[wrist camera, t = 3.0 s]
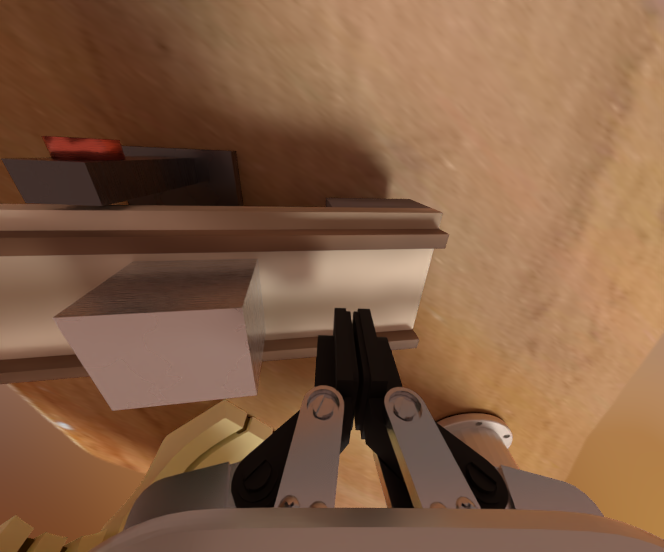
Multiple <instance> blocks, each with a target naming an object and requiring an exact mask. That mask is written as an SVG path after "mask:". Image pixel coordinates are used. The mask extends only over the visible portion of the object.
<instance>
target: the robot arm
mask: <svg viewBox="0 0 664 552" xmlns="http://www.w3.org/2000/svg"><path fill="white" fill-rule="evenodd" d="M354 418H355V428H356V430H360V431H361V439H365V441H366V444H367V445H368V446H369V447H370V448H371V449H372V450H373V456H374V461H375V464H376V468H377V472H378V475H379V479H380V483H381V486H382V490H383V494H384V497H385V501H386V505H387V508H334V506H335V495H336V485H337V475H338V465H339V455H340V453H341V452H342V451H343V450H344V449H345V447H346V446H347V445H348V444H349V439H350V432H351V430H352V427H353V420H354ZM512 438H513V437H512V432H511V431H510V429H509V428H508V426H507V424H506V423H505V422H504V421H503V420H501V419H500V418H498V417H495V416H492V415H488V414H483V413H467V414H460V415H455V416H451V417H448V418H445V419H443V420H440V421H438V422H436V421H434V419H433V418H432V416H431V414H430V412H429V410H428V408H427V406H426V404H425V403H424V401H423V400H422V398H421V397H420V396H419V395H418V394H417V393H415V392H414V391H412V390H410V389H408V388H404V387H402V384H401V380H400V377H399V374H398V371H397V368H396V364H395V361H394V358H393V355H392V351H391V348H390V345H389V342H388V339H387V337H377V335H376V331H375V327H374V323H373V319H372V315H371V311H370V309H360V308H358V310H357V311H354V312H353V320H351V312H350V311H346V308H335V309H334V325H333V336H332V335H318V342H317V357H316V373H315V387H314V388H312V389H311V390H309V391H308V392H307V394H306V395H305V397H304V399H303V402H302V405H301V409H300V410H299V411H298V412H297V413H296V414H295V415H293V416H292V417H291V418H290V419H289V420H288V421H287V422H285V423H284V424H283V425H282V426H281V427H280V428H278V429H277V430H276V431H275V432H274V433H273V434H271V435H270V436H269V437H268V438H267V439H266V440H264V441H263V442H262V443H261V444H260V445H259V446H257V447H256V448H255V449H254V450H253V451H252V452H250V453H249V454H248V455H247V456H246V457H245V458H244V459H243V460H242V461H241V462H237V463H233V464H230V463H229V462H225V463H221V464H217V465H213V466H209V467H205V468H201V469H197V470H193V471H189V472H185V473H181V474H177V475H173V476H169V477H165V478H163V479H160V480H158V481H156V482H154V483H153V484H151V485H150V486H149V487H147V488H146V489H145V490H144V491H143V492H142V493H141V495H140V496H139V497H138V498H137V499H136V501H135V503H134V505H133V507H132V509H131V511H130V513H129V515H128V518H127V521H126V524H125V526H124V529H123V531H122V532H120V533H118V534H116V535H114V536H112V537H110V538H108V539H107V540H105V541H103V542H102V543H100V544H99V545H97V546H95V547H94V548H92V549H91V550H89V551H88V552H664V540H663V539H661V538H659V537H657V536H655V535H653V534H651V533H648V532H646V531H644V530H642V529H639V528H637V527H634V526H631V525H629V524H626V523H624V522H621V521H617V520H614V519H610V518H607V517H604V516H603V514H602V513H601V511H600V510H599V509H598V507H597V506H596V504H595V503H594V502H593V501H592V500H591V499H590V498H589V497H588V496H587V495H586V494H585V493H583V492H582V491H580V490H579V489H578V488H576V487H575V486H573V485H571V484H568V483H566V482H563V481H560V480H556V479H552V478H548V477H545V476H541V475H537V474H533V473H530V472H526V471H522V470H520V469H519V467H518V466H517V464H516V462H515V461H514V459H513V457H512V456H511V454H510V452H509V451H508V448H509V446H510V445H511V443H512Z"/></svg>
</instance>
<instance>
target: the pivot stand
mask: <svg viewBox="0 0 664 552" xmlns="http://www.w3.org/2000/svg"><path fill="white" fill-rule="evenodd" d="M42 138H43V140H44V143H45V145H46V147H47V149H48V151H49V153H50V155H51V158H5V159H2V161H3V163H4V165H5V167H6V168H7V170H8V172H9V174H10V176H11V177H12V179H13V181H14V183H15V185H16V186H17V188H18V190H19V192H20V194H21V195H22V197H23V199H24V201H25V203H36V204H61V205H86V206H105V205H109V204H114V203H118V202H122V201H126V200H128V203H129V205H165V206H243V201H242V193H241V186H240V178H239V171H238V163H237V156H236V151H221V150H200V149H178V148H156V147H135V146H121V143H120V140H109V139H91V138H71V137H51V136H42Z"/></svg>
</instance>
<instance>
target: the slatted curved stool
mask: <svg viewBox="0 0 664 552" xmlns="http://www.w3.org/2000/svg"><path fill="white" fill-rule="evenodd" d="M246 416H247V412H245V411H243V410H242V409H240V408H238V407H237V406H235V405H234V404H232V403H230V402H229V401H227V400H226V399H224V400H223V401H221V402H219V403H218V404H216V405H215V406H213V407H211V408H210V409H208V410H207V411H205V412H203V413H202V414H200V415H199V416H197V417H195V418H194V419H192V420H191V421H189V422H187V423H186V424H184V425H183V426H181V427H179V428H178V429H176V430H175V431H173V432H171V433H170V434H168V435H167V436H166V437H165V439H164V440H163V442H162V443H161V445H160V447H159V449H158V452H157V454H156V456H155V458H154V460H153V462H152V464H151V466H150V468H149V470H148V472H147V474H146V475H145V477H144V479H143V480H142V482H141V484H140V485H139V486H138V487H137V489H136V490H135V492H134V493H133V494H132V495H131V496H130V498H129V499H128V500H127V502H126V503H125V504H124V505H123V506H122V507H121V508H120V509H119V510H118V512H117V513H116V514H115V515H114V516H113V517H112V518H111V519H110V520H109V521H108V522H107V523H106V524H105V525H104V527H103V528H102V530H101V532H100V533H97V534H93V535H89V536H82V537H80V538H78V539H76V540H74V541H72V542H70V543H68V544H66V545H64V544H65V542H66V540H67V537H62V536H56V535H53V534H50V533H47V532H45V533H43V534H42V535H40V536H38V537H36V538H34V539H31V538H27V537H28V536H29V534H30V533H31V532H32V530H33V529H34V528H33V527H31V526H30V525H28V524H27V523H25V522H24V521H23V520H21V519H20V518H19V517H18V516H16V515H15V516H14V517H12V518H11V519H9V520H8V521H6V522H5V523H3V524H2V525H0V552H88V551H89V550H91V549H92V548H94V547H95V546H97V545H99V544H100V543H102V542H103V541H105V540H107V539H108V538H110V537H112V536H114V535H116V534H118V533H120V532H122V531H123V529H124V526H125V524H126V521H127V518H128V515H129V513H130V511H131V509H132V507H133V505H134V503H135V501H136V499H137V498H138V497H139V496H140V495H141V493H142V492H143V491H144V490H145V489H146V488H147V487H149V486H150V485H151V484H153V483H154V482H156V481H158V480H160V479H163V478H165V477H169V476H173V475H177V474H181V473H185V472H189V471H193V470H197V469H201V468H205V467H209V466H213V465H217V464H221V463H225V462H229V463H230V464H233V463H237V462H241V461H242V460H243V459H244V458H245V457H246V456H247V455H248V454H249V453H250V452H252V451H253V450H254V449H255V448H256V447H257V446H259V445H260V444H261V443H262V442H263V441H264V440H266V439H267V438H268V437H269V436H270V435H271V434H273V433H272V432H273V429H272V428H271V427H269V426H268V425H266V424H264V423H263V422H261V421H260V420H258V419H256V418H255V417H251V418H248V417H246ZM63 545H64V546H63Z"/></svg>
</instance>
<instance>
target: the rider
mask: <svg viewBox="0 0 664 552" xmlns="http://www.w3.org/2000/svg"><path fill="white" fill-rule="evenodd" d="M52 319H53V320H54V322H55V323H56V325H57V326H58V328H59V329H60V331H61V332H62V334H63V336H64V337H65V339H66V340H67V342H68V343H69V345H70V346H71V348H72V349H73V351H74V352H75V354H76V356H77V357H78V359H79V360H80V362H81V363H82V365H83V366H84V368H85V369H86V371H87V372H88V374H89V376H90V377H91V379H92V380H93V382H94V383H95V385H96V386H97V388H98V389H99V391H100V392H101V394H102V396H103V397H104V399H105V400H106V402H107V403H108V405H109V406H110V408H111V409H112V411H115V410H124V409H134V408H143V407H152V406H161V405H171V404H180V403H189V402H198V401H208V400H217V399H226V398H235V397H245V396H254V395H257V391H258V384H259V377H260V370H261V363H262V356H263V349H264V342H265V335H266V326H265V317H264V309H263V300H262V292H261V283H260V274H259V266H258V259H223V260H178V261H133V262H131V263H130V264H128V265H127V266H126V267H124V268H123V269H121V270H120V271H118V272H117V273H116V274H114V275H113V276H111V277H110V278H108V279H107V280H106V281H104V282H103V283H101V284H100V285H98V286H97V287H96V288H94V289H93V290H91V291H90V292H88V293H87V294H86V295H84V296H83V297H81V298H80V299H78V300H77V301H76V302H74V303H73V304H71V305H70V306H68V307H67V308H66V309H64V310H63V311H61V312H60V313H58V314H57V315H56V316H54V317H53V318H52Z"/></svg>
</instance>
